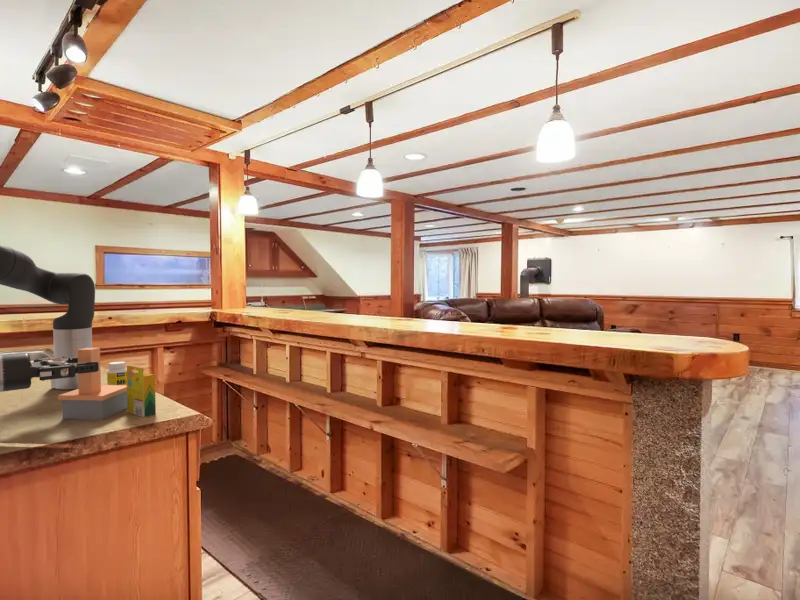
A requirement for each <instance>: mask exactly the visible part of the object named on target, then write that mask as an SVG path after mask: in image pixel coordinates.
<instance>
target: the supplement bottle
mask: <svg viewBox="0 0 800 600" xmlns="http://www.w3.org/2000/svg"><path fill="white" fill-rule="evenodd" d="M126 364H127V363H126V361H112V362H108V370H107V371H106V376H107V378H106V380H107V383H106V385H127V365H126Z"/></svg>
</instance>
